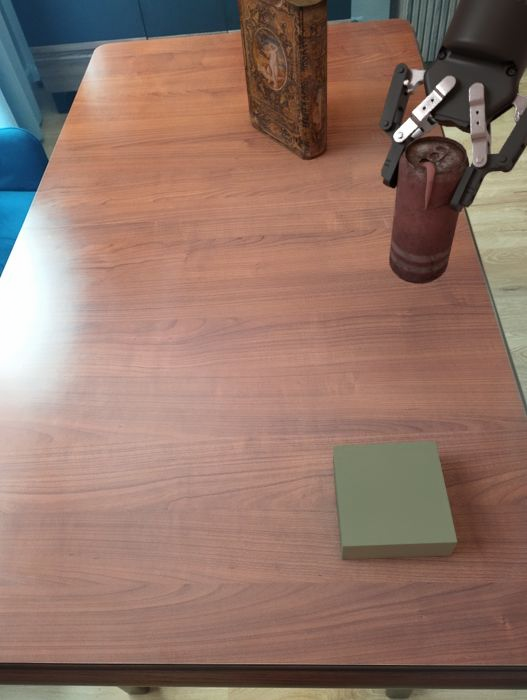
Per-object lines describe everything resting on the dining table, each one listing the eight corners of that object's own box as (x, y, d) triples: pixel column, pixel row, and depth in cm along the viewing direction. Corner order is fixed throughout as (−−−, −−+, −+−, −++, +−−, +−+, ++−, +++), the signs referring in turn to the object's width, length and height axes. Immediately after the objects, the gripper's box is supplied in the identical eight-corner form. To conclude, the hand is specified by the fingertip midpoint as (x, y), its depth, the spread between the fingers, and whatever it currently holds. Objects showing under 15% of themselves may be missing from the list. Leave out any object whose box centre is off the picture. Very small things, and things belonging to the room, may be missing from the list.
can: (388, 287, 61) (401, 175, 50) (388, 245, 65) (400, 133, 54) (448, 288, 60) (474, 175, 49) (444, 246, 64) (468, 132, 53)
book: (331, 149, 103) (333, -5, 84) (308, 162, 102) (304, 8, 82) (273, 114, 112) (262, -33, 92) (250, 125, 110) (234, -22, 90)
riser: (430, 457, 66) (435, 440, 63) (450, 555, 59) (457, 542, 56) (333, 462, 67) (333, 445, 63) (341, 559, 60) (342, 546, 57)
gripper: (416, -28, 50) (339, 165, 54) (591, 2, 43) (489, 217, 48) (436, 12, 56) (366, 182, 60) (591, 44, 50) (501, 230, 54)
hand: (421, 197), depth 54 cm, fingers closed on can, 6 cm apart
